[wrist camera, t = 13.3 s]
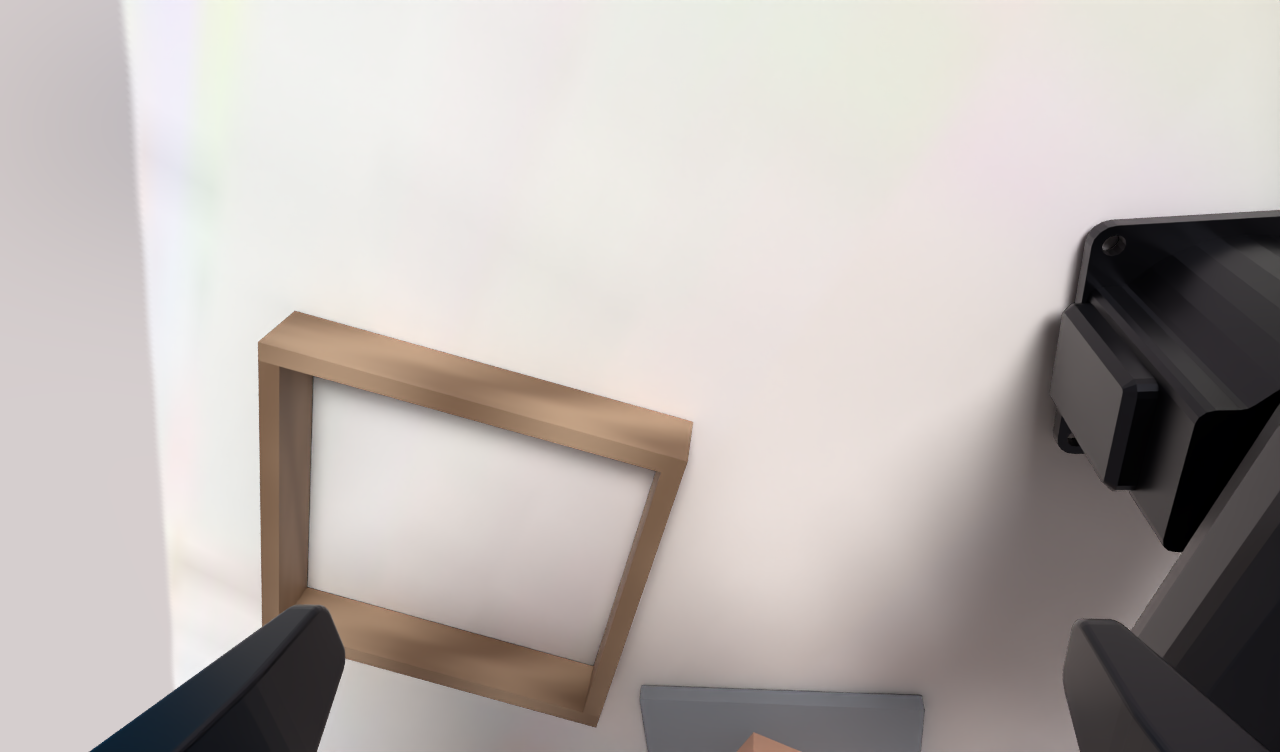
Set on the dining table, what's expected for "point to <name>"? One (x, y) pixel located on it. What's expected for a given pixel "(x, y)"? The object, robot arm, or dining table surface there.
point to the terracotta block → (764, 745)
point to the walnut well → (480, 397)
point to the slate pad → (779, 720)
